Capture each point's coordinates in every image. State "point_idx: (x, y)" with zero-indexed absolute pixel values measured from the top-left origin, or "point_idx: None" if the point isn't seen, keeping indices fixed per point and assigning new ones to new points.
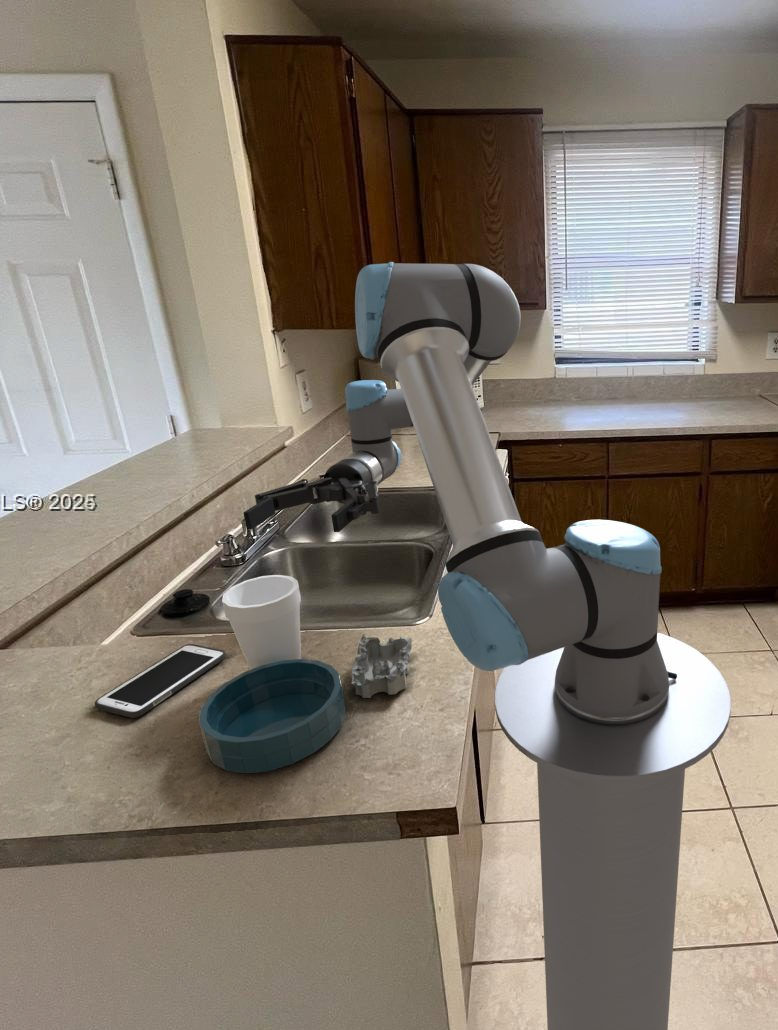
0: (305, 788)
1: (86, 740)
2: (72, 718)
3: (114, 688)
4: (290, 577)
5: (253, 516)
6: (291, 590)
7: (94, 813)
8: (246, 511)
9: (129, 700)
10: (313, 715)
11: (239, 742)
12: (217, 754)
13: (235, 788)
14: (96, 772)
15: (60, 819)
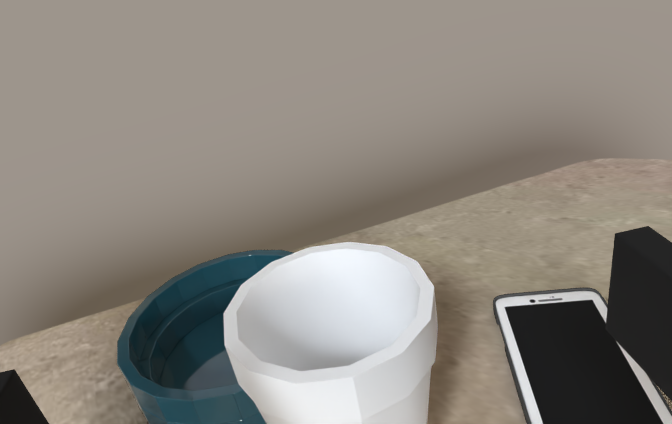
0: None
1: (514, 270)
2: (598, 281)
3: None
4: (288, 377)
5: (643, 301)
6: (233, 325)
7: (373, 236)
8: (652, 238)
9: (542, 307)
10: (143, 306)
11: (225, 255)
12: None
13: None
14: (433, 254)
15: (399, 225)
